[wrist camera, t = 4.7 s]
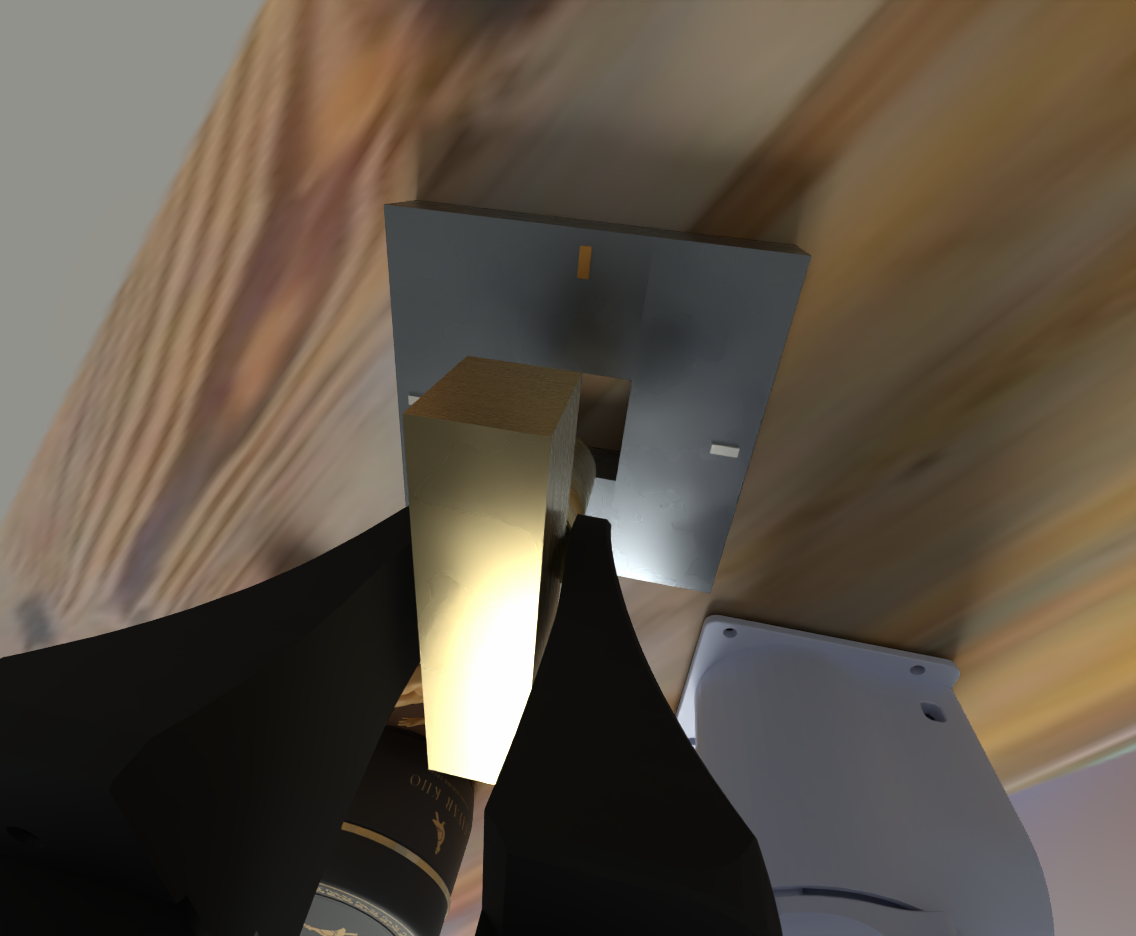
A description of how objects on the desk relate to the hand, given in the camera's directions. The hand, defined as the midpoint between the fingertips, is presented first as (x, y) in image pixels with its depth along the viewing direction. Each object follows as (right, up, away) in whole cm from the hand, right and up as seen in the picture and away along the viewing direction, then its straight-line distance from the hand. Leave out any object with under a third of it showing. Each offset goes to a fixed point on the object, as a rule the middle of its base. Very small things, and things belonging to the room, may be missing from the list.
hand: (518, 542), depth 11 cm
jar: (-9, -16, +21) cm, 28 cm away
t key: (+1, +2, +3) cm, 3 cm away
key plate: (+1, +4, +7) cm, 8 cm away
